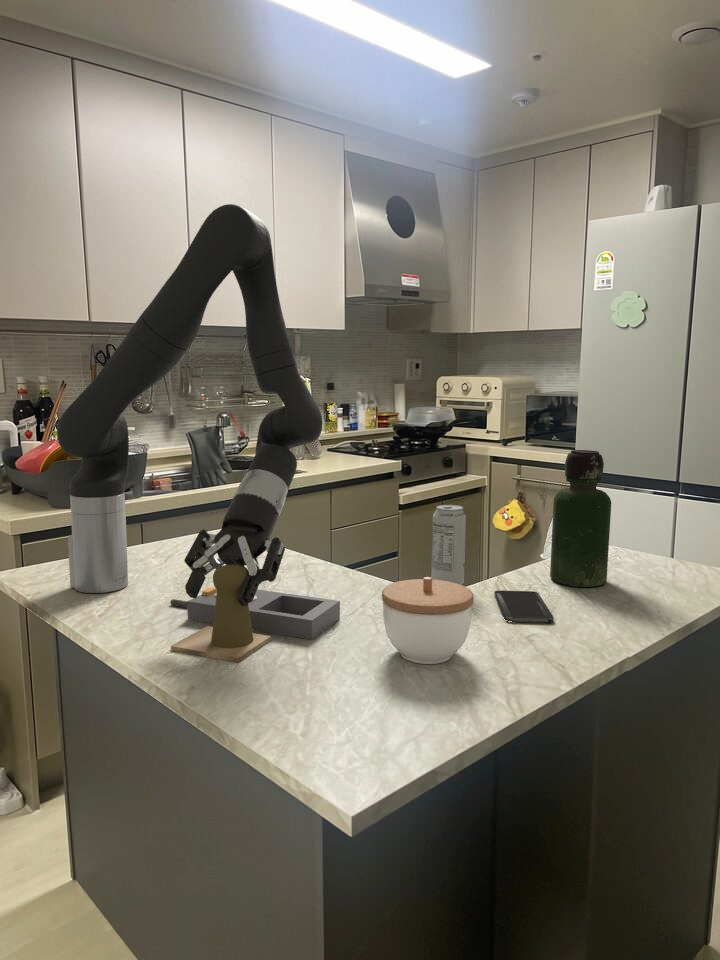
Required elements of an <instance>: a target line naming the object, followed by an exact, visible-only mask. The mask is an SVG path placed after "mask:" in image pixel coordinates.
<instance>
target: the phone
mask: <svg viewBox="0 0 720 960" xmlns="http://www.w3.org/2000/svg"><path fill="white" fill-rule="evenodd" d="M493 597H494V599H495V602H496V604H497V606H498V608H499V610H500V614H501V616H502V618H503V617H504V619H505V620H508V621H512V622H515V623H514V624H533V625H534V624H535V625H536V624H539V625H550V624H553V623H554V620H555V619H554V615H553V614H552V611H550V609H549V608H548V606H547V604H546V603H545V601H544V600H543V598H542V597H541V594H540V593H539V592H537V591H531V590H530V591H529V590H495V591H494V595H493ZM504 619H503V620H504Z"/></svg>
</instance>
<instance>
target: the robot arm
mask: <svg viewBox="0 0 720 960" xmlns="http://www.w3.org/2000/svg"><path fill="white" fill-rule="evenodd" d="M231 272H232V273H233V275H234V277H235V279H236V281H237V284H238V287H239V289H240V293H241V296H242V300H243V304H244V314H245V331H246V333H245V334H246V335H245V336H246V343H247V349H248V354H249V357H250V360H251V365H252V369H253V372H254V375H255V378H256V382H257V385H258V388H259V389H260V391H261V392H262V393H264V394H268V395H275V394H276V395H277V396H278V397H279V398H280V400H281V402H282V403H283V406H281V407H278V408H274V409H272V410H271V411H269V412H268V413H266V415H265V416H264V417H263V418H262V420H261V421H260V423H259V427H258V431H257V438H256V439H257V440H256V445H255V455H254V457H253V459H252V461H251V463H250V465H249V467H248V469H247V471H246V473H245V475H244V477H243V479H242V480H241V482H240V483H239V485H238V486H237V489H236V491H235V493H234V496H233V498H232V499H231V502H230V505H229V506H228V508H227V511H226V512H225V514H224V517H223V520H222V526H221V529H220V530H219V531H218V532H217V533H216V534H215V533H214V534H212V533H209V532H208V531H207V530H206V529H201V530H200V531H199V532H198V534H197V536H196V537H195V539H194V541H193V543H192V545H191V547H190V548H189V550H188V553H187V554H186V556H185V557H184V560H183V561H184V563H185V564H186V565H187V566H188V568H189V569H190V570H191V572H190V575H189V577H188V579H187V582H186V583H185V587H184V589H185V593H186V594H187V596H188V597H189V598H190V599H193V598H197V596H199V595H200V594H199V593H200V592H201V589H202V586H203V584H204V583H205V581H206V578H207V577H206V576H208V574H209V573H210V572H212V571H214V570H216V569H217V568H218V567H220V566H224V565H241V566H244V567H246V568H247V570H248V572H249V576H246V578H245V580H244V583H243V585H242V587H241V590H240V592H239V595H238V597H237V600H238V602H239V603H240V604H241V605H242V606H248V604H249V603H251V602H252V600H253V599H254V596H255V593H256V591H257V589H258V588H259V586H260V585H261V584H262V583H263V582H267V581H268V582H269V583H271V582H274V581H275V580H276V578H277V575H278V572H279V570H280V567H281V566H280V565H281V563H282V559H283V557H284V553H285V551H286V547H285V546H284V544H283V542H282V541H281V540H280V538H279V537H274V538H272V540H270V539H271V537H272V535H273V532H274V529H275V527H276V525H277V522H278V520H279V518H280V515H281V512H282V510H283V507H284V505H285V502H286V499H287V494H288V491H289V488H290V487H291V484H292V481H293V479H294V477H295V474H296V471H297V469H298V460H297V458H296V456H295V454H294V453H293V452H292V451H291V449H293V448H296V447H299V446H303V445H308V444H311V443H314V442H315V441H317V440H318V438H319V437H320V436H321V433H322V430H323V417H322V416H323V415H322V413H321V410H320V408H319V406H318V403H317V402H316V401H315V399H314V397H313V395H312V393H311V392H310V390H309V389H308V387H307V385H306V383H305V381H304V380H303V378H302V377H301V374H300V373H299V368H298V366H297V365H298V364H297V362H296V358H295V355H294V351H293V347H292V343H291V341H290V336H289V334H288V330H287V329H288V328H287V327H286V323H285V319H284V315H283V312H282V306H281V301H280V297H279V290H278V285H277V278H276V273H275V264H274V252H273V245H272V239H271V234H270V230H269V228H268V227H267V225H266V223H265V222H264V221H263V220H262V219H261V218H259V217H258V216H257V215H256V214H254V213H252V212H250V211H249V210H248V209H246V208H244V207H242V206H241V205H238V204H234V203H233V204H232V203H228V204H223V205H221V206H220V205H219V206H218V207H217V208H214V210H213V211H212V212H211V213H209V214H208V216H207V217H206V218H205V219H204V221H203V222H202V224H201V225H200V228H199V230H198V231H197V233H196V234H195V236H194V238H193V240H192V241H191V243H190V245H189V247H188V248H187V250H186V252H185V254H184V255H183V257H182V258H181V260H180V262H179V264H178V265H177V266H176V268H175V269H174V270H173V272H172V274H171V275H170V276H169V277H168V279H167V280H166V281H165V283H164V285H162V287H161V288H160V290H158V292H157V294H156V295H155V296H154V298H153V299H152V300H151V302H150V303H149V305H148V306H147V307H146V308H145V309H144V311H143V312H142V313H141V314H140V316H139V317H138V318H137V320H136V321H135V323H134V324H133V325H132V326H131V328H130V330H128V333H126V336H125V337H124V338H123V340H122V341H121V343H120V344H119V346H117V347H116V349H115V351H114V352H113V353H112V354H111V356H110V358H109V359H108V360H107V362H106V363H105V364H104V366H103V367H102V368H101V370H100V371H99V373H98V374H97V376H95V378H94V379H93V380H92V381H91V382H90V384H89V385H88V386H87V387H86V388H85V389H84V390H83V391H82V392H81V393H80V394H79V395H78V397H76V399H75V400H74V401H73V402H72V403H71V404H70V405H69V406H68V407H66V409H65V411H64V412H63V413H62V415H61V417H60V419H59V421H58V423H57V427H56V428H57V430H56V437H57V441H58V444H59V447H60V448H61V449H62V451H63V452H65V453H66V454H68V455H69V456H71V457H75V458H81V464H80V467H79V470H78V471H77V472H76V473H75V474H74V476H72V477H71V479H70V481H69V497H70V498H69V500H70V501H69V502H70V517H71V519H70V521H71V534H70V535H68V537H67V542H68V543H67V545H68V549H67V550H68V565H69V583H70V584H69V585H70V586H69V587H70V588H73V589H75V591H77V592H81V593H85V594H102V593H110V592H114V591H118V590H122V589H124V588H126V587H127V586H128V585H129V571H128V567H129V566H128V545H127V543H128V541H127V540H128V539H127V519H126V495H125V491H126V490H125V484H126V481H127V478H128V475H129V465H130V463H129V462H130V461H129V458H130V456H129V455H130V454H129V453H130V451H129V449H130V442H129V441H130V439H129V436H130V435H129V428H128V422H127V420H126V418H125V417H126V416H125V415H124V414H123V413H124V412H125V410H126V409H127V408H128V406H129V405H130V404H131V403H133V401H134V400H136V399H137V398H138V397H139V396H140V395H142V394H143V393H145V392H146V391H148V390H149V389H150V388H151V387H153V386H154V385H156V384H157V383H158V382H159V381H160V380H162V379H163V378H164V377H165V376H166V375H168V374H169V373H170V372H171V371H172V369H174V368H175V367H176V365H177V364H178V363H179V361H180V360H181V359H182V357H183V356H184V355H185V354H186V353H187V351H188V349H190V348H191V346H192V344H193V343H194V341H195V339H196V337H197V334H198V333H199V330H200V327H201V324H202V322H203V318H204V315H205V311H206V309H207V306H208V304H209V302H210V299H211V298H212V296H213V294H214V293H215V292H216V290H217V289H218V288H219V287H220V285H221V284H222V283H223V281H225V279H226V278H227V277H228V276H229V274H230V273H231ZM265 552H267V553H266V555H265V559H264V562H263V565H262V567H261V566H260V563H259V560H258V557H259V556H261V555H263V553H265ZM216 555H217V557H218V558H215V556H216ZM258 590H259V589H258Z"/></svg>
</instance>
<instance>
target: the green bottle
mask: <svg viewBox="0 0 720 960" xmlns="http://www.w3.org/2000/svg"><path fill="white" fill-rule="evenodd" d="M566 455H567V456H566V458H565V461H564V462H565V463H564V476H565V477H566V478H565V481H566V482H568V483H569V487H566V488H562V489H560V490H559V491H558V492H556V494H555V495H554V498H553V503H552V504H553V506H552V507H553V508H552V509H553V510H552V527H551V528H552V529H551V549H550V551H551V552H550V565H549V566H550V569H549V577H550V578H551V579H552V580H553V581H554V582H555V583H559V584H561V585H565V586H569V587H575V588H576V587H577V588H593V587H600V586H602V585H605V584H606V583H607V581H608V563H609V549H610V533H611V519H612V518H611V515H612V514H611V513H612V500H611V497H610V496H609V495H608V494H607V492H605V491H604V490H602V489H598V488H597V486H598V484H600V483H601V482H602V478H604V477H603V476H604V474H603V473H604V468H605V467H604V466H605V463H604V458H603V455H602V454H600V451H598V450H587V449H575V450H574V449H572V450H570V452H569V453H568V454H566Z"/></svg>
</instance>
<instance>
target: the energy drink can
mask: <svg viewBox="0 0 720 960" xmlns="http://www.w3.org/2000/svg"><path fill="white" fill-rule="evenodd" d="M463 510H464V507H463V506H461V505H456V504H441V505H436V509H435V511H434V513H433V514H432V532H431V533H432V537H431V540H432V541H431V572H430V573H431V576H430V577H431V578H432V580H442V581H448V582H453V583H456V584H460V585H462V586H463V584H464V583H465V560H466V558H465V557H466V524H467V523H466V522H467V516H466V514H465V512H464V511H463Z"/></svg>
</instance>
